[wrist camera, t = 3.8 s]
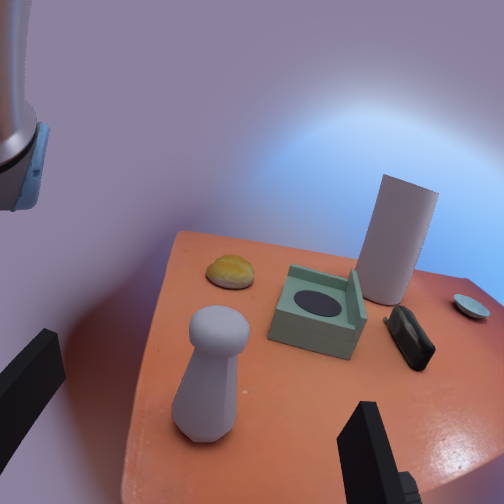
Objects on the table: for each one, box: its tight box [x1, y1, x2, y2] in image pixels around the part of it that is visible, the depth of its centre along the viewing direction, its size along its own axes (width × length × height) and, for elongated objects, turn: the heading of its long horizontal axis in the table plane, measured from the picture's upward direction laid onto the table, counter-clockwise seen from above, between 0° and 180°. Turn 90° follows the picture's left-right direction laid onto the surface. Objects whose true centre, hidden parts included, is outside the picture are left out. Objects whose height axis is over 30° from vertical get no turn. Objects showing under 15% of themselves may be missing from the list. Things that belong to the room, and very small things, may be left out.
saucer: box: [454, 294, 490, 319], centre depth 64 cm, size 12×12×2 cm
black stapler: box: [383, 305, 436, 370], centre depth 45 cm, size 5×3×15 cm
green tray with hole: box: [268, 264, 367, 360], centre depth 48 cm, size 12×18×7 cm, turn 167°
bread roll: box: [206, 255, 254, 289], centre depth 56 cm, size 8×9×4 cm
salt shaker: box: [172, 306, 250, 442], centre depth 24 cm, size 6×6×13 cm
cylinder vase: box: [355, 175, 439, 305], centre depth 61 cm, size 12×12×25 cm
